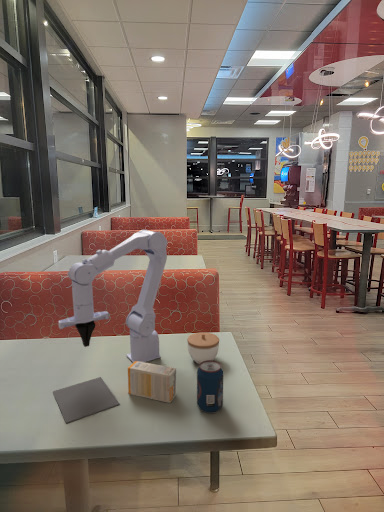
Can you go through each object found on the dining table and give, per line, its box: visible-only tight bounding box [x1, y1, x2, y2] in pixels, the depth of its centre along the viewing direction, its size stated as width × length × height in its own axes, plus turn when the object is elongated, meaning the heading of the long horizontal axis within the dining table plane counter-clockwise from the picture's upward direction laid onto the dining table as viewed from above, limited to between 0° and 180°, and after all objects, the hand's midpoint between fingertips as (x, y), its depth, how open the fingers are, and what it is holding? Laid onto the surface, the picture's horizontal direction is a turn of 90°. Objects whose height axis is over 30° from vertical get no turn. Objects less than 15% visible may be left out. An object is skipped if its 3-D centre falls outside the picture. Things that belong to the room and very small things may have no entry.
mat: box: [52, 376, 121, 424], centre depth 95 cm, size 14×16×1 cm
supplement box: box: [127, 361, 177, 404], centre depth 97 cm, size 8×5×13 cm
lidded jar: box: [186, 331, 220, 365], centre depth 116 cm, size 11×11×9 cm
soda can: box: [196, 359, 224, 414], centre depth 91 cm, size 7×7×12 cm
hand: (86, 345), depth 105 cm, fingers closed
